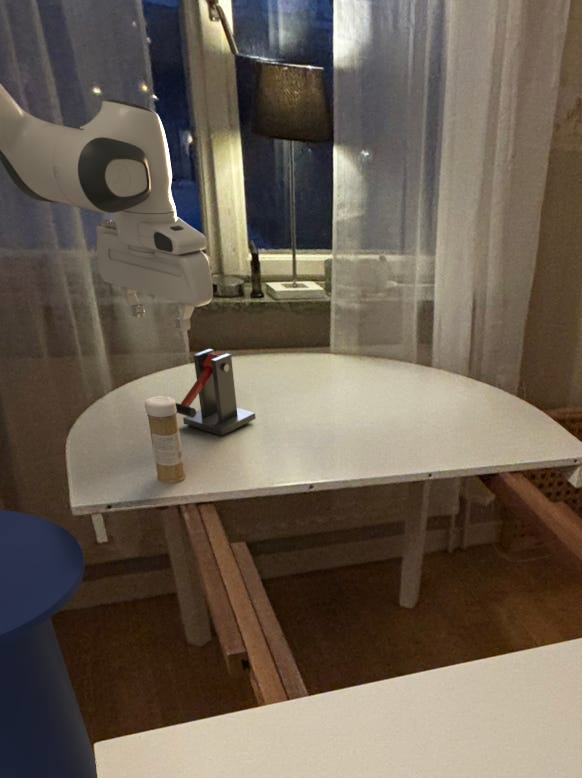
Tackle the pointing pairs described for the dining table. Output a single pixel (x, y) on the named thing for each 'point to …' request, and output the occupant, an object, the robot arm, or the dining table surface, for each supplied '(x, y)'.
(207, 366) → the lever
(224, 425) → the bracket
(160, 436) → the sprinkles bottle
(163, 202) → the robot arm
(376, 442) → the dining table surface
